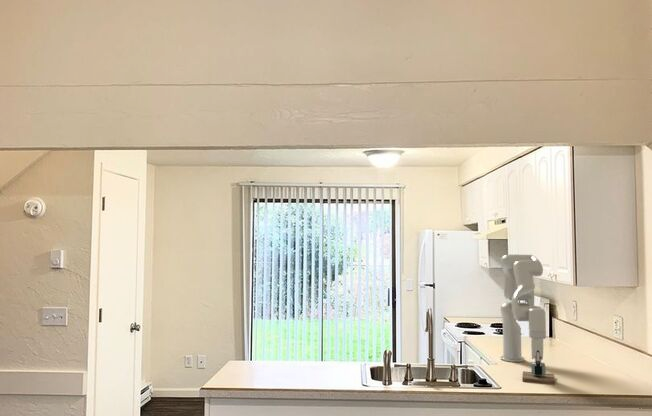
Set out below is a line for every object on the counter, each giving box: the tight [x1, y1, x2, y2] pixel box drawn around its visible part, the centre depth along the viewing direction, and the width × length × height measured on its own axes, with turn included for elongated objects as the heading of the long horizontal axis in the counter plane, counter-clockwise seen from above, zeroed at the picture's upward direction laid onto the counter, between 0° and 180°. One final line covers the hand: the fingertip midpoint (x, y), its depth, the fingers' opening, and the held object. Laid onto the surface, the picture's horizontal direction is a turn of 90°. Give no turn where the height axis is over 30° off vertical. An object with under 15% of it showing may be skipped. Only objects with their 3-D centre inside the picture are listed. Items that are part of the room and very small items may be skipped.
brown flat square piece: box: [521, 371, 556, 386], centre depth 242 cm, size 14×14×2 cm
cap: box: [530, 361, 546, 376], centre depth 242 cm, size 6×6×5 cm
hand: (538, 372), depth 242 cm, fingers closed on cap, 6 cm apart
